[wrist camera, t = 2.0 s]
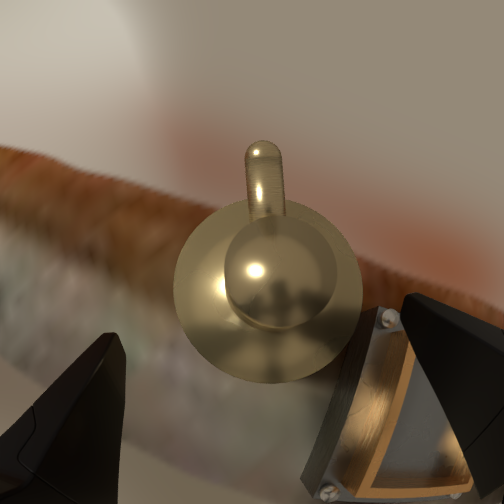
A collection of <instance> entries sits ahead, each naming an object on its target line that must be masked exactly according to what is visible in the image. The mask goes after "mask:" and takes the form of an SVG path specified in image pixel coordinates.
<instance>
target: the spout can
mask: <svg viewBox="0 0 504 504" xmlns="http://www.w3.org/2000/svg"><path fill="white" fill-rule="evenodd" d="M244 161H245V173H246V186H247V198H248V199H246V200H242V201H239V202H235V203H233V204H230V205H228V206H225V207H224V208H222V209H220V210H218V211H216V212H214V213H213V214H212V215H210V216H209V217H208V218H206V219H205V220H204V221H203V222H202V223H201V224H200V225H199V226H198V227H197V228H196V229H195V230H194V232H193V233H192V234H191V235H190V237H189V238H188V240H187V242H186V243H185V245H184V247H183V249H182V251H181V253H180V256H179V258H178V262H177V265H176V269H175V275H174V301H175V308H176V311H177V315H178V318H179V321H180V323H181V326H182V328H183V330H184V332H185V334H186V336H187V337H188V339H189V340H190V342H191V343H192V345H193V346H194V347H195V348H196V349H197V351H198V352H199V353H200V354H201V355H202V356H203V357H204V358H205V359H206V360H208V361H209V362H210V363H211V364H213V365H214V366H216V367H217V368H219V369H220V370H222V371H224V372H226V373H228V374H230V375H232V376H234V377H237V378H240V379H243V380H246V381H251V382H256V383H270V384H275V383H285V382H290V381H294V380H298V379H301V378H304V377H306V376H309V375H311V374H313V373H315V372H316V371H318V370H320V369H322V368H323V367H325V366H326V365H327V364H328V363H330V362H331V361H332V360H333V359H334V358H335V357H336V356H337V355H338V354H339V353H340V352H341V351H342V350H343V348H344V347H345V346H346V344H347V343H348V342H349V340H350V338H351V336H352V334H353V333H354V331H355V328H356V326H357V323H358V320H359V317H360V312H361V308H362V298H363V287H362V279H361V272H360V269H359V266H358V262H357V260H356V257H355V255H354V253H353V250H352V249H351V247H350V245H349V244H348V242H347V241H346V239H345V238H344V236H343V235H342V234H341V232H340V231H339V230H338V229H337V228H336V227H335V226H334V225H333V224H332V223H331V222H330V221H328V220H327V219H326V218H325V217H323V216H322V215H320V214H319V213H317V212H316V211H314V210H312V209H310V208H308V207H306V206H304V205H301V204H299V203H296V202H293V201H289V200H285V193H284V180H283V166H282V156H281V152H280V150H279V149H278V147H277V146H276V145H275V144H273V143H272V142H269V141H264V140H261V141H257V142H254V143H253V144H251V145H250V146H249V147H248V149H247V150H246V153H245V160H244Z"/></svg>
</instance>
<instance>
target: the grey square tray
mask: <svg viewBox="0 0 504 504" xmlns="http://www.w3.org/2000/svg"><path fill="white" fill-rule="evenodd" d="M300 479H301V481H302V483H303V484H304V486H305V487H306V489H307V490H308V492H309V493H310V495H311V496H312V498H315V499H322V500H323V501H324V502H328V503H329V502H333V501H346V502H368V503H395V502H416V501H429V500H438V499H446V498H453V499H457V498H459V497H460V496H461V494H462V493H463V492H469V491H470V490H471V487H472V485H473V483H474V481H473V478H472V476H471V473H470V471H469V468H468V466H467V463H466V461H465V458H464V456H463V452H462V451H461V448H460V446H459V444H458V441H457V439H456V437H455V434H454V432H453V430H452V428H451V426H450V423H449V421H448V419H447V417H446V415H445V413H444V411H443V409H442V406H441V404H440V402H439V400H438V398H437V396H436V394H435V392H434V390H433V388H432V386H431V384H430V382H429V380H428V379H427V377H426V375H425V373H424V371H423V369H422V367H421V365H420V363H419V361H418V359H417V357H416V355H415V353H414V351H413V349H412V346H411V344H410V341H409V339H408V337H407V334H406V332H405V330H404V328H403V325H402V323H401V321H400V313H398V312H397V311H395V310H394V309H386V308H383V307H380V306H378V307H375V308H372V309H370V310H367V311H364V312H362V313H360V317H359V320H358V323H357V326H356V328H355V331H354V333H353V334H352V336H351V338H350V342H349V345H348V349H347V352H346V356H345V359H344V362H343V366H342V369H341V372H340V375H339V378H338V381H337V384H336V388H335V391H334V393H333V396H332V399H331V402H330V405H329V408H328V411H327V413H326V416H325V419H324V422H323V424H322V427H321V430H320V432H319V435H318V437H317V440H316V442H315V445H314V447H313V450H312V452H311V455H310V457H309V459H308V462H307V464H306V466H305V469H304V471H303V473H302V475H301V478H300Z"/></svg>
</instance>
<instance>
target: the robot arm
mask: <svg viewBox="0 0 504 504" xmlns="http://www.w3.org/2000/svg"><path fill="white" fill-rule="evenodd" d="M400 321H401V323H402V325H403V328H404V330H405V332H406V334H407V337H408V339H409V341H410V344H411V346H412V349H413V351H414V353H415V355H416V357H417V359H418V361H419V363H420V365H421V367H422V369H423V371H424V373H425V375H426V377H427V379H428V380H429V382H430V384H431V386H432V388H433V390H434V392H435V394H436V396H437V398H438V400H439V402H440V404H441V406H442V409H443V411H444V413H445V415H446V417H447V419H448V421H449V423H450V426H451V428H452V430H453V432H454V434H455V437H456V439H457V441H458V444H459V446H460V448H461V451H462V452H463V456H464V458H465V461H466V463H467V466H468V468H469V471H470V473H471V476H472V478H473V481H474V484H475V486H476V489H477V492H478V495H479V497H480V499H482V498H484V497H485V496H487V495H488V494H490V493H491V492H493V491H494V490H496V489H497V488H499V487H500V486H501V485H503V484H504V330H503V329H500V328H498V327H496V326H494V325H492V324H489V323H487V322H485V321H483V320H480V319H478V318H476V317H473V316H471V315H469V314H467V313H464V312H462V311H460V310H457V309H455V308H453V307H450V306H448V305H446V304H443V303H441V302H439V301H436V300H434V299H432V298H429V297H427V296H425V295H422V294H420V293H417V292H415V293H410V294H407V295H406V296H405V298H404V301H403V305H402V309H401V312H400ZM125 382H126V354H125V351H124V349H123V346H122V344H121V341H120V339H119V336H118V335H117V333H115V332H112V333H103V334H102V335H101V336H100V337H99V338H98V339H97V340H96V341H95V342H94V343H93V344H91V345H90V346H89V347H88V348H87V349H86V350H85V351H84V352H83V353H82V354H81V355H80V356H79V357H78V358H77V359H76V360H75V361H74V362H73V363H72V364H71V365H70V366H69V367H68V368H67V369H66V370H65V371H64V372H63V373H62V374H61V375H60V376H59V377H58V378H57V379H56V380H55V381H54V383H53V384H52V385H51V386H50V387H49V388H48V389H47V390H46V391H45V392H44V393H43V394H42V395H41V396H40V397H39V398H38V399H37V400H36V401H35V402H34V403H33V406H31V407H30V408H29V409H28V410H27V411H26V412H25V413H24V414H23V415H22V416H21V417H20V418H19V419H18V420H17V421H16V422H15V423H14V424H13V425H12V426H11V427H10V428H9V429H8V430H7V431H6V432H5V433H4V434H2V435H1V436H0V504H118V478H119V461H120V448H121V437H122V427H123V418H124V409H125ZM502 504H504V496H503V500H502Z"/></svg>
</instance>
